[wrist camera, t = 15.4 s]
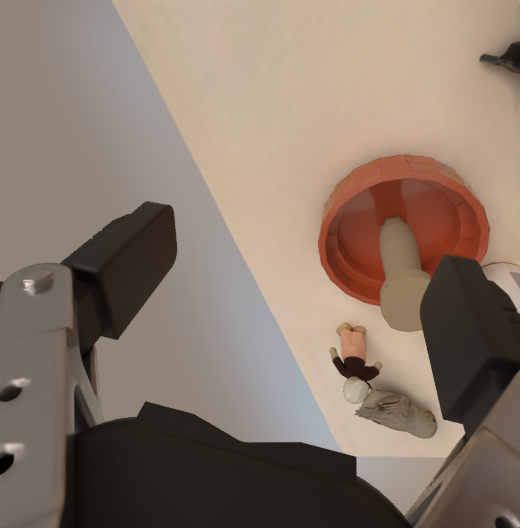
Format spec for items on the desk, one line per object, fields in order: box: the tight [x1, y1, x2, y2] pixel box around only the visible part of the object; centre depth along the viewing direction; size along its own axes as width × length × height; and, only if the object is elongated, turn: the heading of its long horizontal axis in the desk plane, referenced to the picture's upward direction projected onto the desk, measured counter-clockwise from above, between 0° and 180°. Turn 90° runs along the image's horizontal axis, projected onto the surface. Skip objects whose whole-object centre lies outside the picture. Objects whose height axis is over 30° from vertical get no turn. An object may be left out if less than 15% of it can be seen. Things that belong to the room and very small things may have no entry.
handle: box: [380, 216, 431, 332], centre depth 36 cm, size 5×6×15 cm
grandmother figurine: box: [329, 323, 382, 404], centre depth 49 cm, size 8×4×13 cm, turn 92°
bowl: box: [318, 155, 490, 306], centre depth 40 cm, size 18×18×6 cm
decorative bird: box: [354, 381, 437, 438], centre depth 58 cm, size 5×16×8 cm, turn 66°
